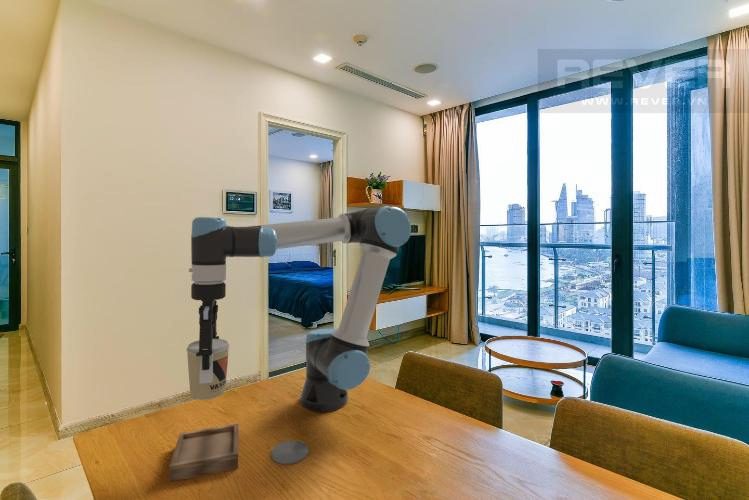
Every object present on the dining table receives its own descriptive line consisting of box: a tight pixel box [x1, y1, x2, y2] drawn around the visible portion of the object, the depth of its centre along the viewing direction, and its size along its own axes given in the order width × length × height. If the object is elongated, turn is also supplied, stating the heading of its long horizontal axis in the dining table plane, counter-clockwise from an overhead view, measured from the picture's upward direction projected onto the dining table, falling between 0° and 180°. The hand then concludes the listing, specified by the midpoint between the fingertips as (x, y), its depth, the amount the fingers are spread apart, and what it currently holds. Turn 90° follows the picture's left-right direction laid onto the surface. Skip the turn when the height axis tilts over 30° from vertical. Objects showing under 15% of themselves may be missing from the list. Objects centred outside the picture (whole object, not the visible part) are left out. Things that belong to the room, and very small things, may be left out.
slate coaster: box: [270, 440, 309, 466], centre depth 91 cm, size 9×9×1 cm
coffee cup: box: [186, 338, 230, 401], centre depth 89 cm, size 9×9×12 cm
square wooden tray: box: [168, 423, 240, 483], centre depth 89 cm, size 14×14×4 cm
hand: (208, 374), depth 89 cm, fingers closed on coffee cup, 9 cm apart
